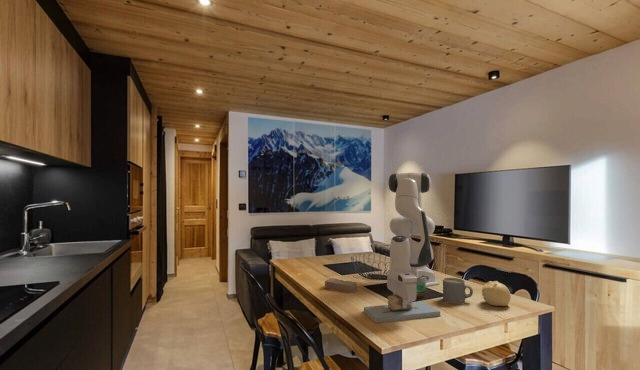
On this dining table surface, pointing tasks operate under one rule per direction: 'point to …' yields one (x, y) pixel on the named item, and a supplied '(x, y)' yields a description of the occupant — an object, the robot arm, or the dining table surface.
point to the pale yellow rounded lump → (496, 293)
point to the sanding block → (397, 303)
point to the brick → (341, 285)
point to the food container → (420, 287)
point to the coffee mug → (455, 290)
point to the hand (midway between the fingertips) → (400, 305)
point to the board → (401, 312)
